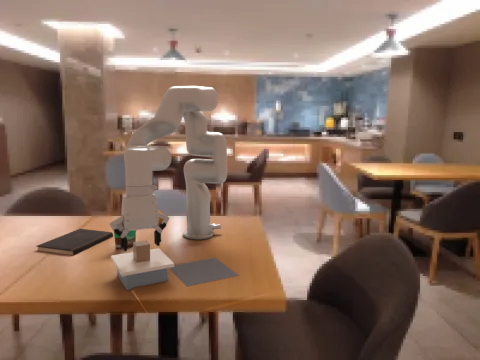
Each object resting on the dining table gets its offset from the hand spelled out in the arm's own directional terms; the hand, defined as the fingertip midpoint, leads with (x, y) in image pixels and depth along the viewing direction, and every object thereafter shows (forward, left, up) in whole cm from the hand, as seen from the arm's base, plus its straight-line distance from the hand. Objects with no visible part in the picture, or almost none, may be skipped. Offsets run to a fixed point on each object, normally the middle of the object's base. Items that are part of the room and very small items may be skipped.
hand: (141, 247), depth 114 cm
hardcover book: (+13, -44, -11) cm, 47 cm away
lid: (0, 0, -5) cm, 5 cm away
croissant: (-19, -60, -10) cm, 64 cm away
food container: (-4, -32, -10) cm, 34 cm away
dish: (0, 0, -10) cm, 10 cm away
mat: (-18, +4, -10) cm, 21 cm away
